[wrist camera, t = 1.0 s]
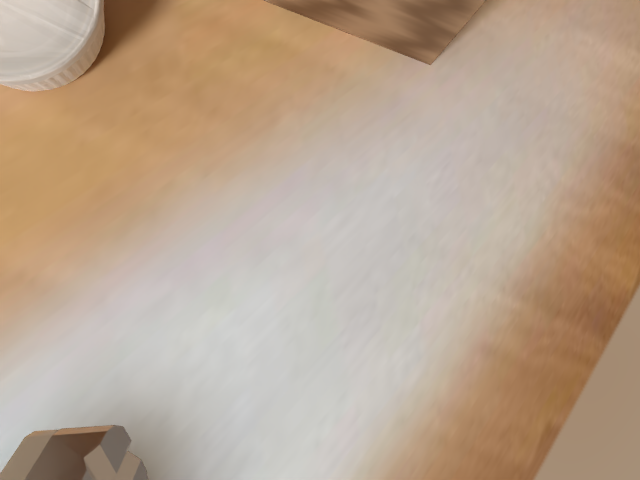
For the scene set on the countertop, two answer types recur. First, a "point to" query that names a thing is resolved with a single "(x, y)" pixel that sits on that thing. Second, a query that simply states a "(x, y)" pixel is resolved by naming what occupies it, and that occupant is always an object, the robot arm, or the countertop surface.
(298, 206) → the countertop surface
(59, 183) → the countertop surface
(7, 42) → the ramekin
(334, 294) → the countertop surface
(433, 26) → the panel block
